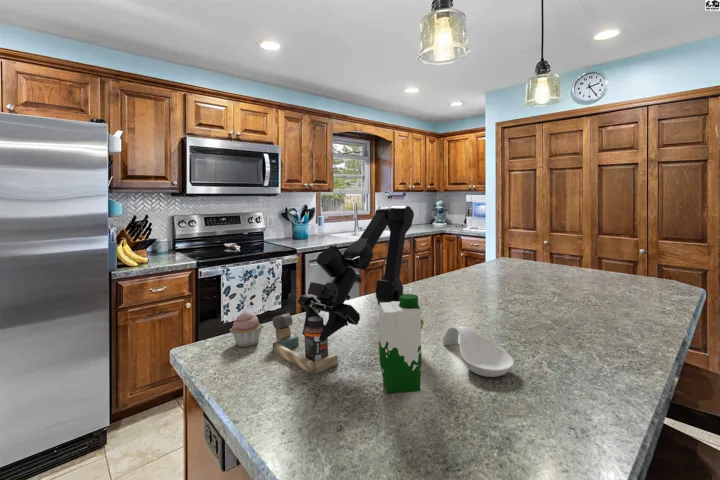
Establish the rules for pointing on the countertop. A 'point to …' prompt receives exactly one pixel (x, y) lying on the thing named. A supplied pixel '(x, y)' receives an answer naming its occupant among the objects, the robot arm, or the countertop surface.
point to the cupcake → (246, 329)
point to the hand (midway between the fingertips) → (311, 337)
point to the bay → (299, 360)
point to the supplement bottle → (315, 339)
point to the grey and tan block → (282, 326)
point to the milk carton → (400, 344)
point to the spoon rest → (479, 352)
